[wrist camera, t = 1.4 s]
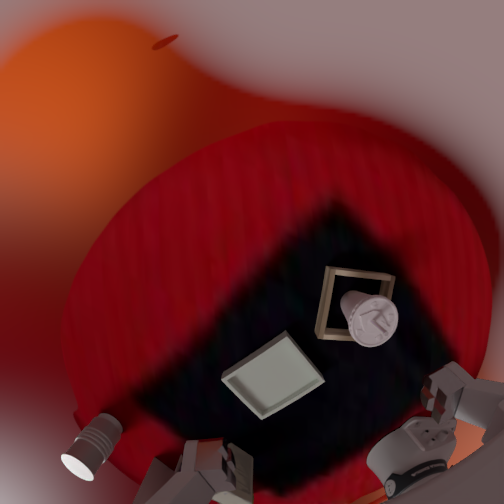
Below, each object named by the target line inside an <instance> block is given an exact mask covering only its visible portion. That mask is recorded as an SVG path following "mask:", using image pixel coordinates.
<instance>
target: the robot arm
mask: <svg viewBox="0 0 504 504" xmlns="http://www.w3.org/2000/svg"><path fill="white" fill-rule="evenodd" d="M423 384H424V387H423V389H422V390H421V401H422V404H423V406H424V407H425V408H426V410H430V411H432V414H431V416H432V417H412V418H410V419H409V420H408V421H407V422H406V423H405V424H404V425H402V426H401V427H400V428H399V429H397V430H395V431H393V432H392V433H390V434H388V435H387V436H385V437H384V438H383V439H382V440H380V441H379V442H378V443H377V444H376V445H375V446H374V447H373V448H372V450H371V451H370V453H369V455H368V457H367V465H368V467H369V468H370V469H371V470H372V471H373V472H374V473H375V474H376V475H377V477H378V478H379V479H380V481H381V482H382V484H383V486H384V488H385V492H386V496H387V498H388V500H387V501H385V502H383V503H380V504H504V383H501V382H494V381H489V380H484V379H478V378H477V379H474V378H472V377H471V376H470V375H469V374H468V373H467V372H466V371H465V370H464V369H462V368H461V367H460V366H459V365H458V364H457V363H456V362H453V361H452V362H450V363H449V364H447V365H445V366H443V367H441V368H439V369H437V370H435V371H434V372H432V373H430V374H428V375H426V376H425V377H424V378H423ZM454 416H455V418H457V419H460V420H462V421H465V422H468V423H470V424H473V425H475V426H478V427H481V428H484V429H486V431H485V433H484V435H483V437H482V442H483V443H484V445H483V446H481V447H480V448H479V449H477V450H476V451H475V452H473V453H472V454H470V455H469V456H468V457H466V458H465V459H463V460H462V461H460V462H459V463H457V464H456V465H454V466H453V465H452V466H451V467H450V468H449V469H448V468H447V462H448V461H449V459H450V457H451V455H452V453H453V451H454V449H455V446H456V437H455V435H454V431H455V428H456V423H457V421H456V419H455V418H453V417H454ZM235 469H236V462H235V457H234V454H233V451H232V449H231V448H229V447H228V442H227V440H226V439H225V438H215V439H203V440H190V441H186V443H185V447H184V453H183V459H182V466H181V472H177V473H176V474H175V475H174V476H173V477H172V478H171V479H170V480H169V481H168V482H167V483H166V484H165V485H164V486H163V487H162V488H161V489H160V490H159V491H157V492H156V493H155V494H154V495H153V496H152V497H151V498H150V499H149V500H148V501H147V502H146V503H145V504H208V503H209V502H210V501H211V499H212V498H213V496H214V495H215V492H224V491H233V490H236V476H235V475H234V473H233V472H234V470H235Z"/></svg>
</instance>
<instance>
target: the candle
mask: <svg viewBox="0 0 504 504" xmlns="http://www.w3.org/2000/svg"><path fill="white" fill-rule="evenodd" d="M122 431H123V429H122V426H121V424H120V423H119V421H118V420H117V419H116V418H114V417H113V416H111V415H109V414H106V413H101V414H99V416H98V417H95V418H93V419H92V421H91V422H90V424H89V425H88V426H86V427H85V428H84V429H83V430H82V432H81V433H80V434H79V435H78V436H77V437H76V439H75V442H74V444H73V445H72V446H71V447H70V448H69V449H68V451H67V452H66V453H63V454H62V456H61V459H62V462H63V463H64V465H65V466H66V467H67V468H68V469H69V470H70V471H71V472H72V473H74V474H75V475H76V476H78V477H80V478H82V479H84V480H87V481H92V480H93V479H94V475H95V473H96V472H97V470H98V469H99V467H100V466H101V464H102V463H104V462H105V461H106V460H107V458H108V457H109V455H110V454H111V452H112V451H113V450H114V446H115V445H116V443H117V442H118V441H119V440H120V437H121V436H120V434H121V433H122Z"/></svg>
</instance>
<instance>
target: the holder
mask: <svg viewBox="0 0 504 504" xmlns="http://www.w3.org/2000/svg"><path fill="white" fill-rule="evenodd" d="M335 275H342V276H351V277H360V278H368V279H377V280H382V281H381V287H380V292H379V295H381V296H384V297H386V298H388V299H389V300H390V301H391V297H392V292H393V287H394V281H395V276H393V275H390V274H387V273H380V272H372V271H364V270H355V269H347V268H339V267H331V266H326V269H325V276H324V282H323V288H322V294H321V300H320V305H319V311H318V316H317V321H316V327H315V333H316V335H317V337H318V339H329V340H345V341H355V340H354V339H353V337H352V336H351V334H350V331H349V329H335V328H325V327H326V322H327V317H328V312H329V307H330V301H331V296H332V290H333V284H334V278H335Z"/></svg>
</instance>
